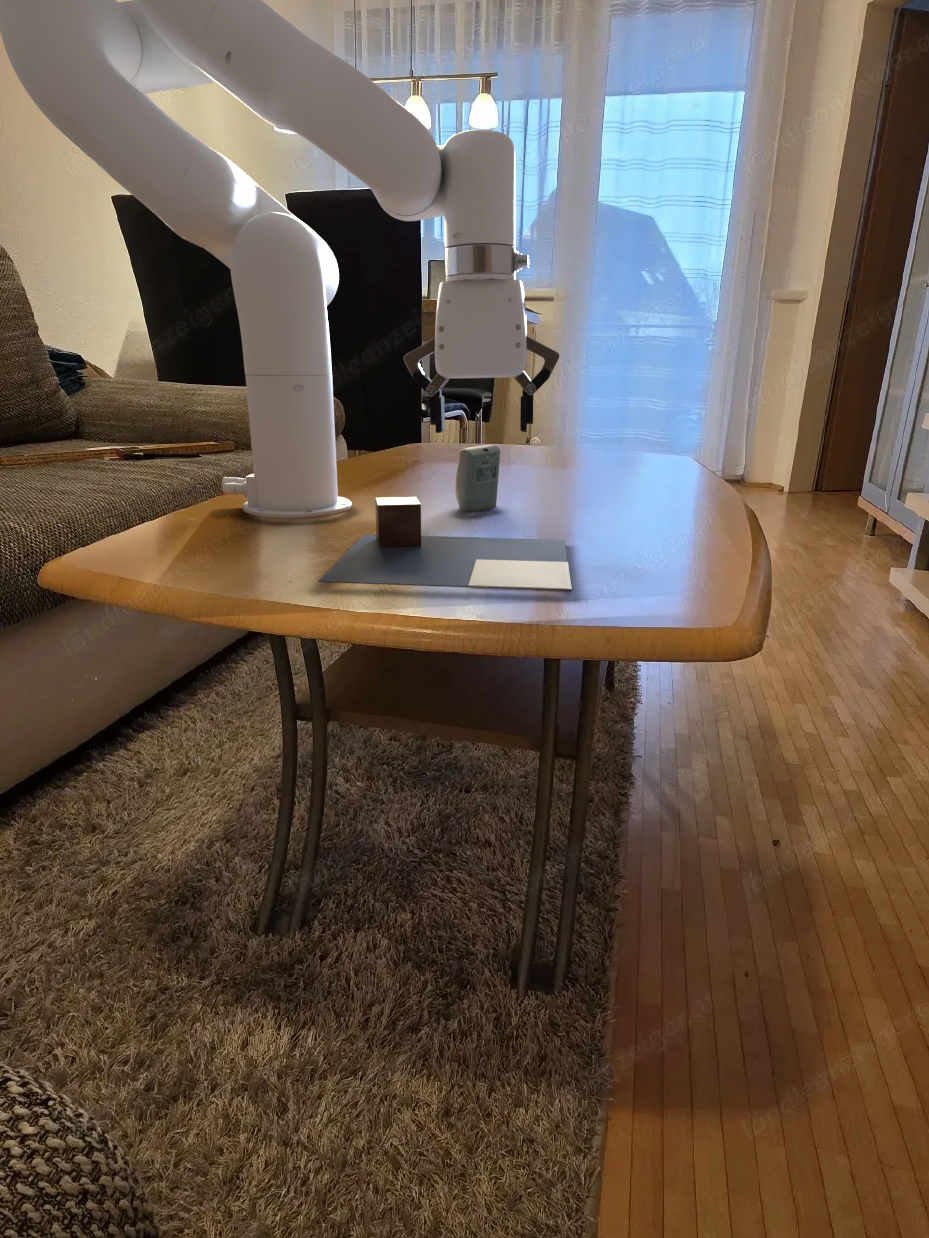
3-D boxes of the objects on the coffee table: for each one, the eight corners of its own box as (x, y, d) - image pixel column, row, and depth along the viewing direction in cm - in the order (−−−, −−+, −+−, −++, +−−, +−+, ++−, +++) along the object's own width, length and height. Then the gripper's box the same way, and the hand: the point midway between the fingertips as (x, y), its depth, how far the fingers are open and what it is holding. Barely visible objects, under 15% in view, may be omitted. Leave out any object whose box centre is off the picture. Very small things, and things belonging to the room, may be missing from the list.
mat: (318, 590, 60) (317, 580, 60) (364, 541, 76) (364, 533, 76) (571, 599, 58) (571, 588, 58) (564, 547, 74) (564, 538, 74)
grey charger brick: (493, 520, 87) (494, 449, 84) (449, 518, 88) (449, 447, 85) (501, 510, 92) (502, 443, 89) (459, 508, 93) (459, 442, 90)
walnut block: (378, 547, 71) (377, 505, 69) (376, 538, 74) (375, 497, 73) (421, 546, 71) (421, 504, 70) (416, 536, 75) (416, 496, 74)
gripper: (560, 269, 84) (557, 427, 89) (406, 274, 85) (412, 429, 91) (562, 261, 77) (558, 434, 82) (394, 266, 78) (401, 435, 84)
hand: (481, 431), depth 87 cm, fingers open, 9 cm apart
